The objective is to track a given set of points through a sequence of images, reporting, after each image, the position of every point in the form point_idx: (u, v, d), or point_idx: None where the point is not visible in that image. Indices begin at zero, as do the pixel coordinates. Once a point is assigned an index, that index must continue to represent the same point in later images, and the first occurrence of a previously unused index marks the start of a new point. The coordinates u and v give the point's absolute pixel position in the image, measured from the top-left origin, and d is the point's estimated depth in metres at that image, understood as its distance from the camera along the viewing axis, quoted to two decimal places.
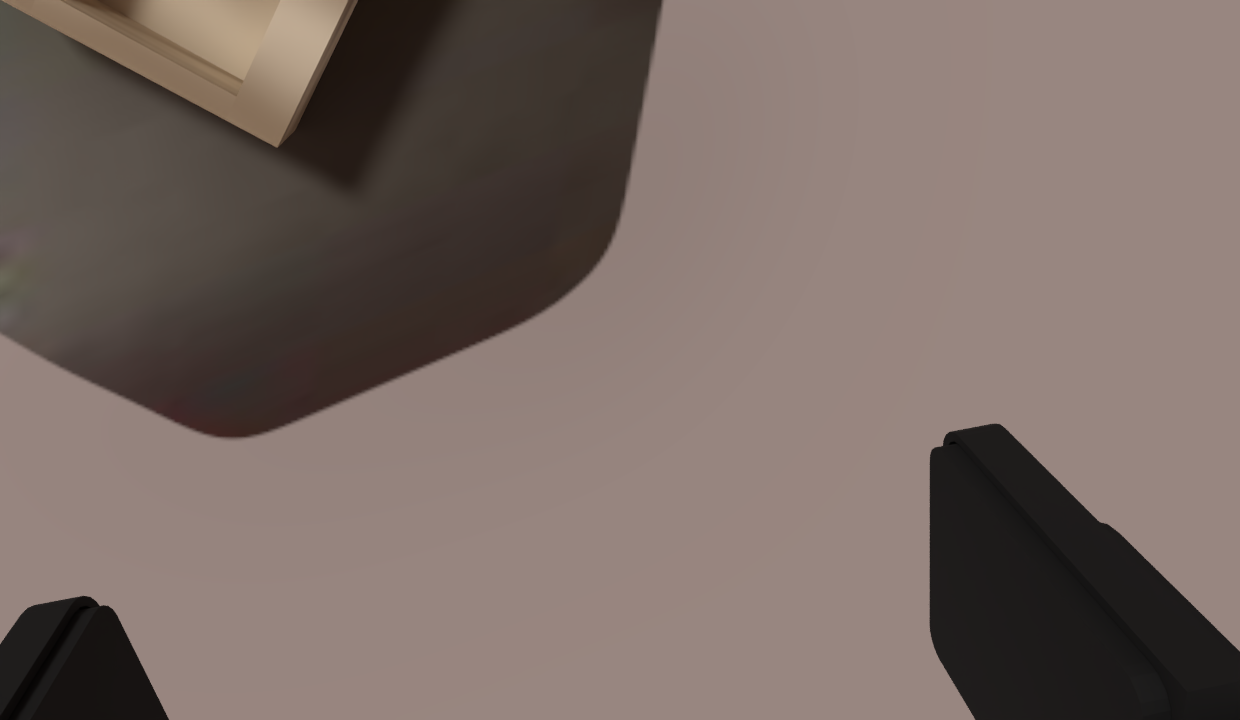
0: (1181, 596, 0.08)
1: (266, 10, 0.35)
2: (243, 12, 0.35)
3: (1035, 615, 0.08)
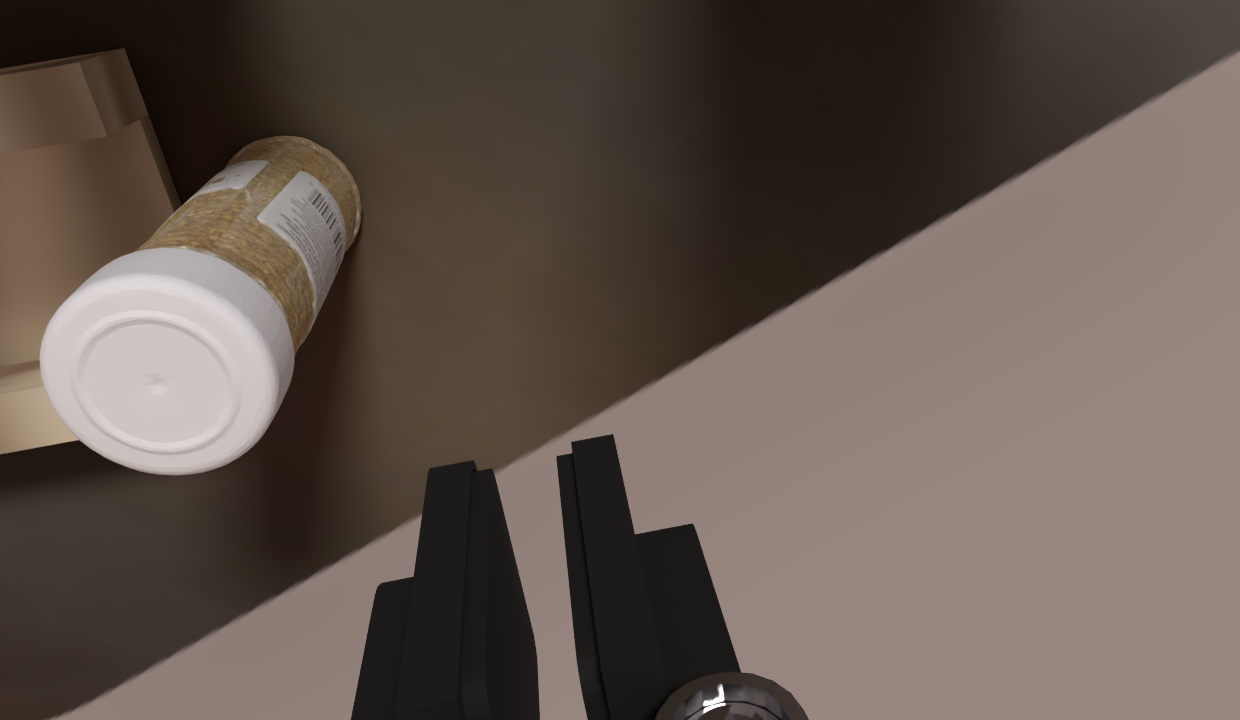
0: (711, 590, 0.09)
1: None
2: None
3: None
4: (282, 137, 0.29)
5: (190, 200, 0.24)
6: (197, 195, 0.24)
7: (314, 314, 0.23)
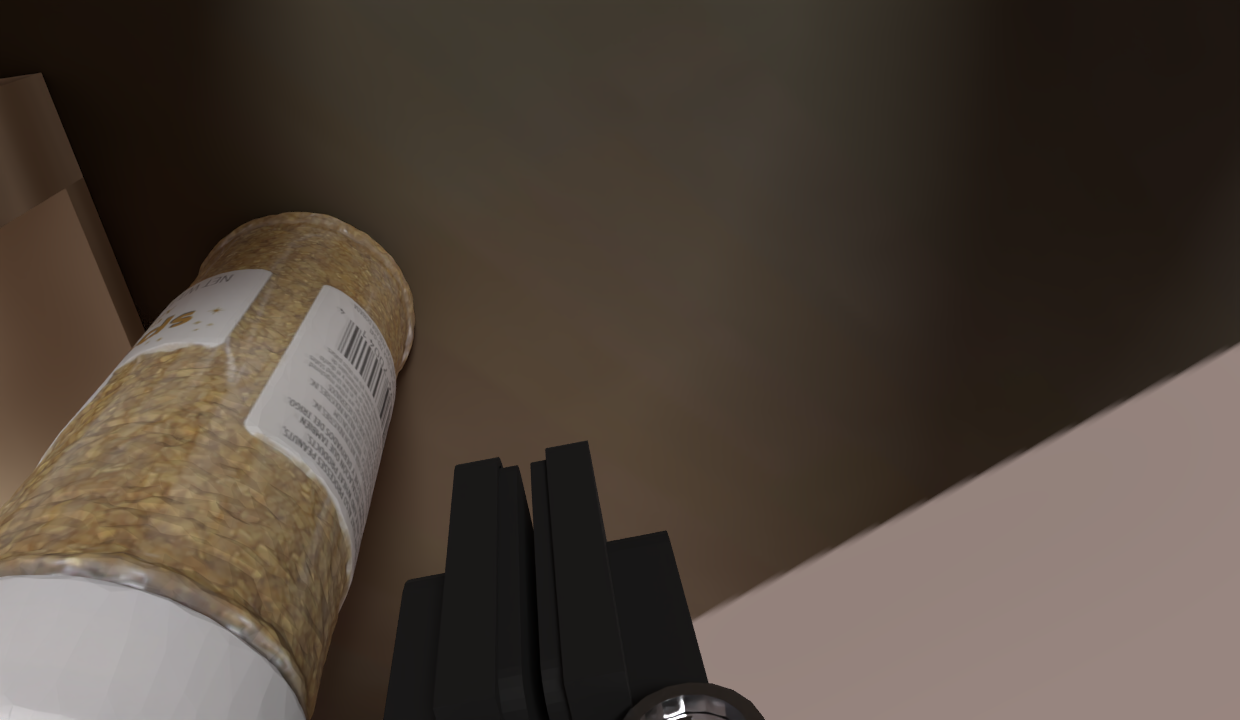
0: (682, 599, 0.09)
1: None
2: None
3: None
4: (295, 215, 0.18)
5: (128, 362, 0.13)
6: (140, 355, 0.13)
7: (349, 584, 0.13)
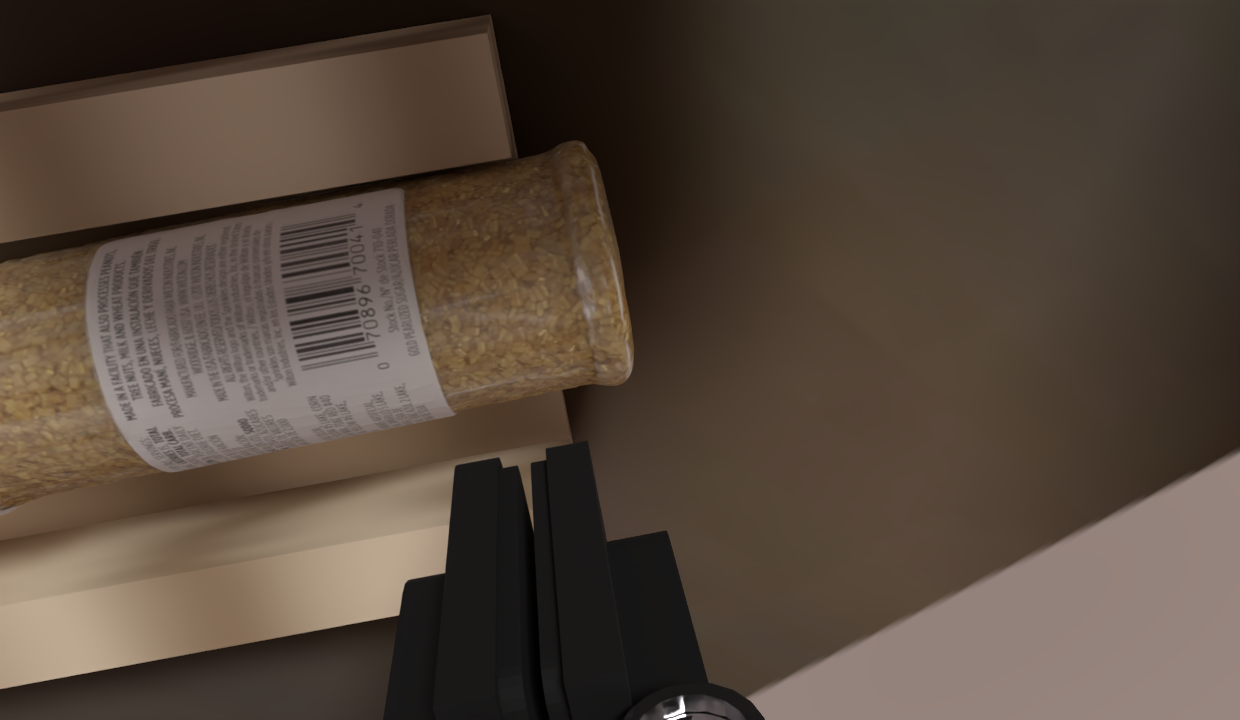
0: (682, 599, 0.09)
1: (59, 502, 0.20)
2: None
3: None
4: None
5: None
6: None
7: (104, 394, 0.14)
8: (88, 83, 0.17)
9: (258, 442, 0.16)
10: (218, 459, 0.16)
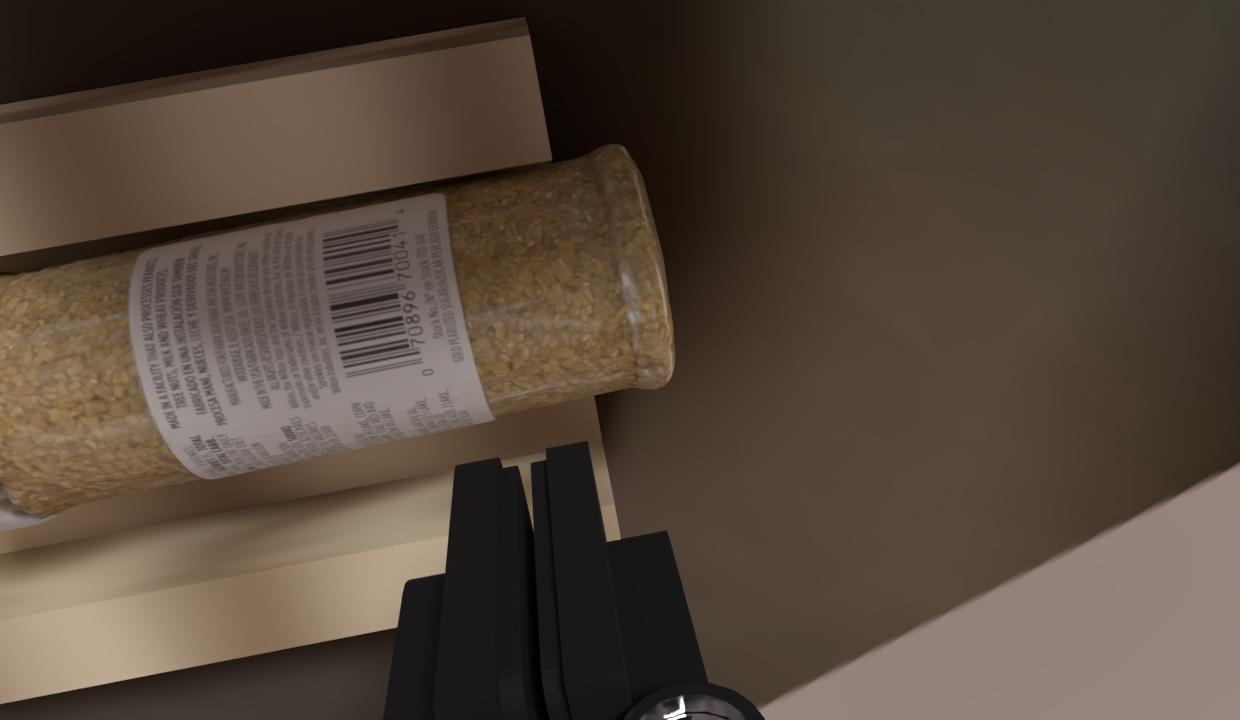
0: (682, 599, 0.09)
1: (90, 509, 0.20)
2: None
3: None
4: None
5: None
6: None
7: (148, 403, 0.14)
8: (124, 88, 0.16)
9: (300, 449, 0.16)
10: (259, 466, 0.16)
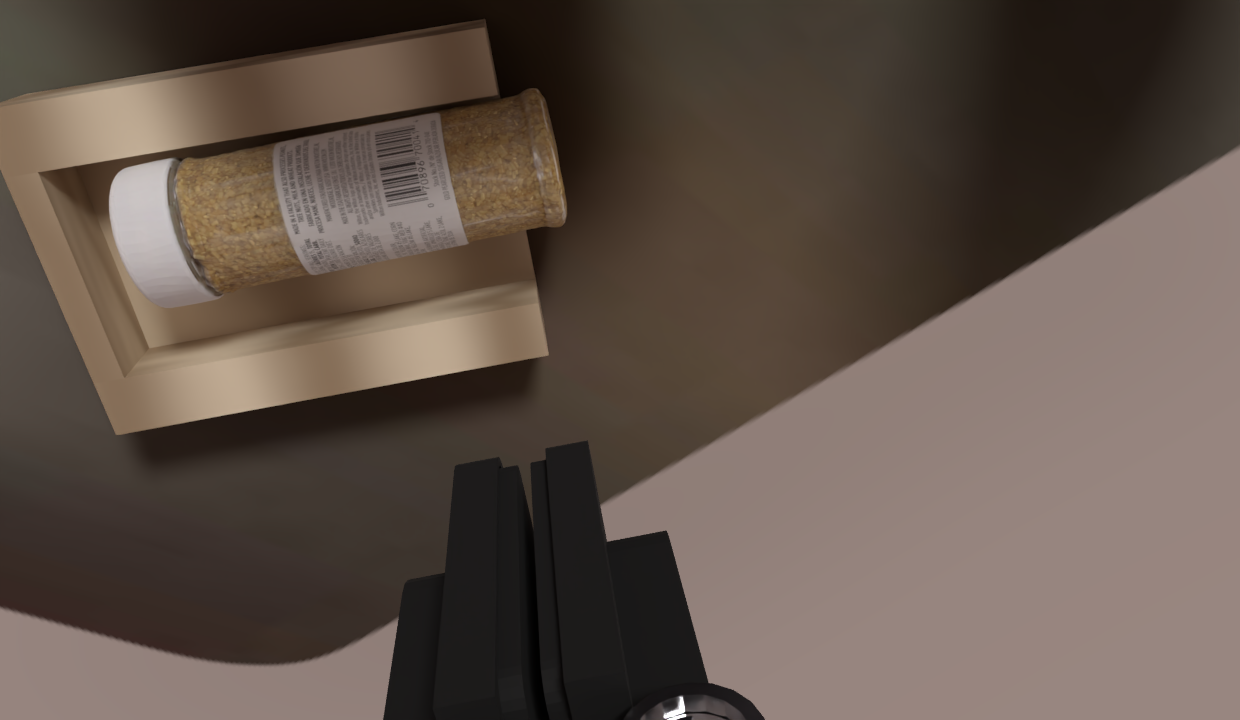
0: (682, 599, 0.09)
1: (223, 316, 0.33)
2: None
3: None
4: None
5: None
6: None
7: (283, 219, 0.27)
8: (260, 57, 0.30)
9: (360, 252, 0.29)
10: (337, 263, 0.29)
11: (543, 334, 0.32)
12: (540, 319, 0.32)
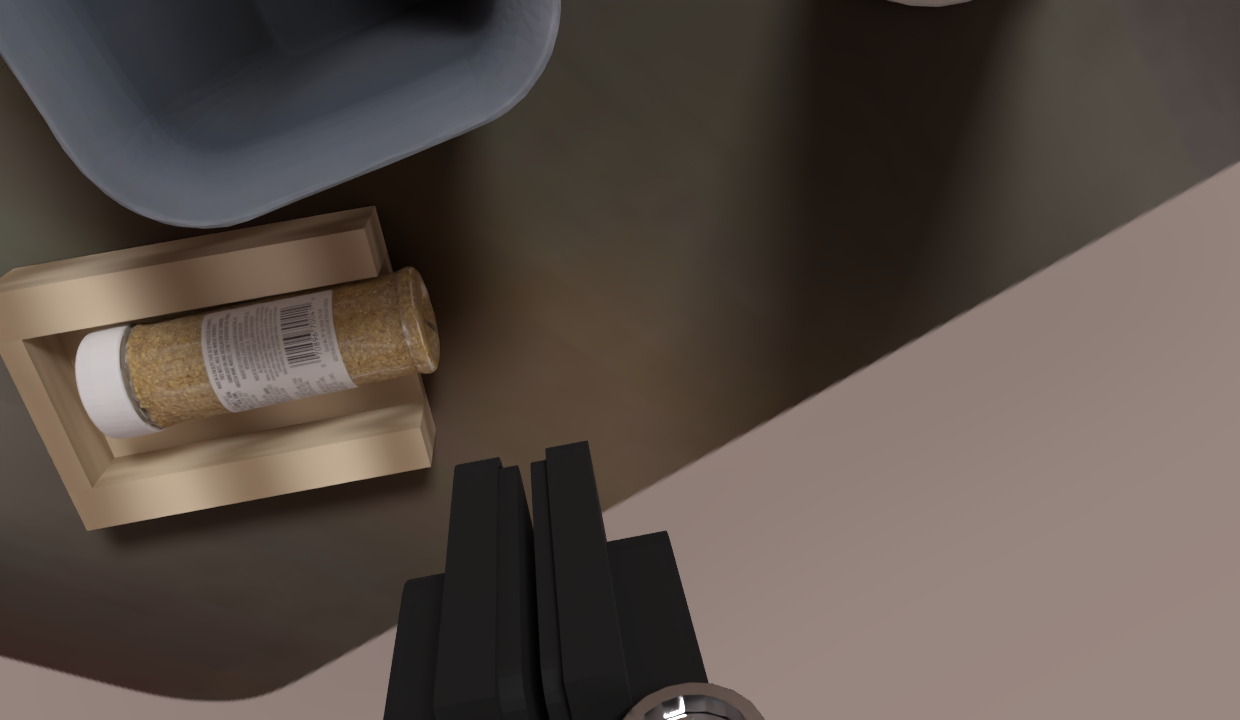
0: (682, 599, 0.09)
1: (173, 432, 0.41)
2: None
3: None
4: None
5: None
6: None
7: (209, 378, 0.36)
8: (195, 241, 0.38)
9: (271, 398, 0.37)
10: (254, 406, 0.37)
11: (425, 451, 0.40)
12: (422, 439, 0.40)
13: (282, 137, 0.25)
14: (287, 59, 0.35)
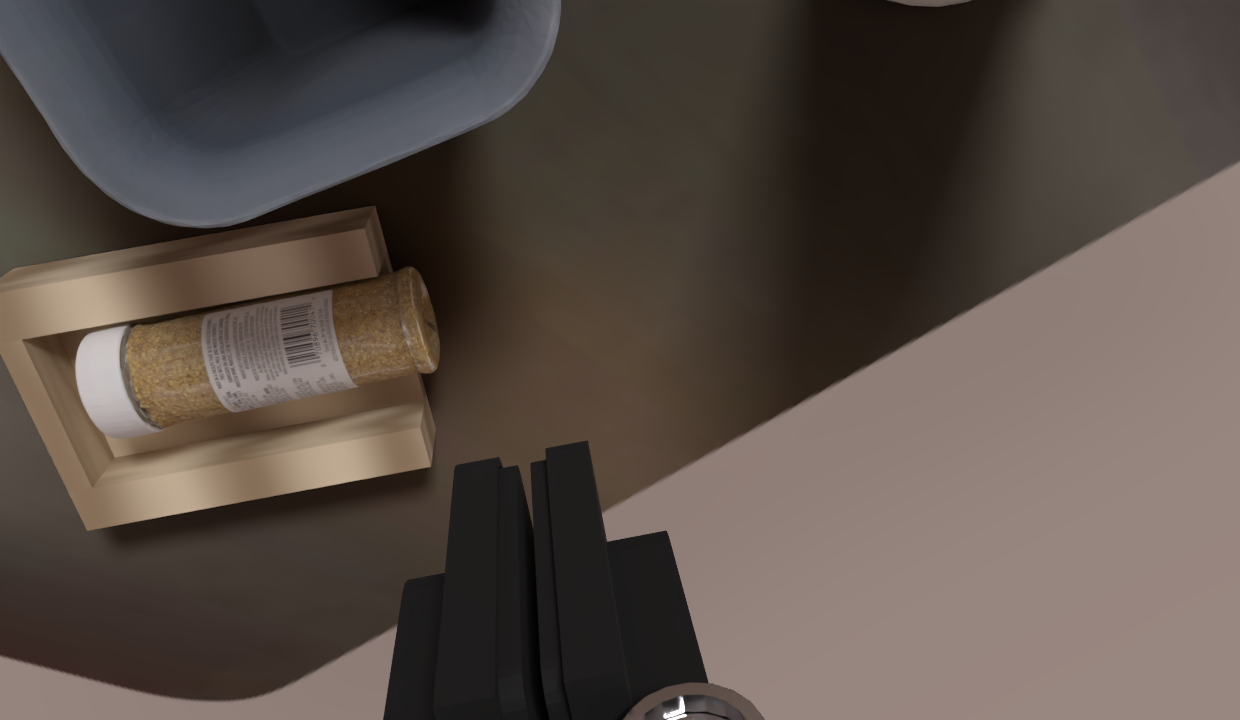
0: (682, 599, 0.09)
1: (173, 432, 0.41)
2: None
3: None
4: None
5: None
6: None
7: (209, 378, 0.36)
8: (195, 241, 0.38)
9: (271, 398, 0.37)
10: (254, 406, 0.37)
11: (425, 451, 0.40)
12: (422, 439, 0.40)
13: (282, 137, 0.25)
14: (287, 59, 0.35)
